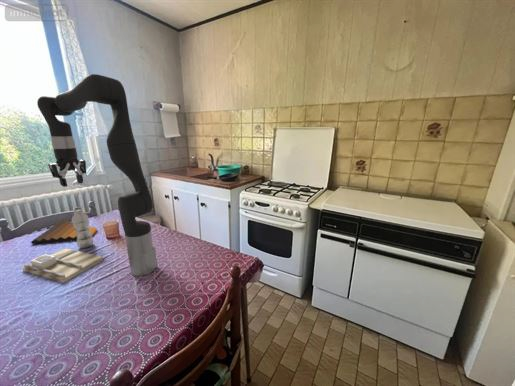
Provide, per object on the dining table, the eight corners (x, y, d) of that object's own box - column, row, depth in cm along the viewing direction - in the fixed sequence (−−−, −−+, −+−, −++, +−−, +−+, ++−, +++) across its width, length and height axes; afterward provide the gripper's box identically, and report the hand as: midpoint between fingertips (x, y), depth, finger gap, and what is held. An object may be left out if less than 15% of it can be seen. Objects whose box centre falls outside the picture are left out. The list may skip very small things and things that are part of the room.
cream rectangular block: (56, 262, 93) (54, 256, 92) (42, 269, 88) (40, 262, 87) (46, 260, 94) (44, 253, 93) (32, 266, 90) (30, 259, 89)
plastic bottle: (80, 251, 104) (71, 212, 99) (76, 247, 108) (67, 208, 102) (96, 246, 109) (88, 208, 103) (91, 242, 113) (83, 205, 107)
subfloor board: (103, 259, 98) (102, 254, 97) (64, 282, 83) (62, 276, 83) (65, 251, 104) (64, 246, 104) (23, 270, 90) (21, 265, 89)
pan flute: (60, 225, 132) (31, 245, 109) (58, 219, 132) (30, 239, 108) (107, 221, 139) (90, 240, 116) (106, 216, 138) (88, 234, 115)
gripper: (75, 145, 103) (82, 180, 107) (38, 148, 89) (48, 187, 94) (87, 146, 101) (94, 182, 105) (51, 148, 87) (61, 189, 92)
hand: (72, 184), depth 100 cm, fingers open, 6 cm apart
